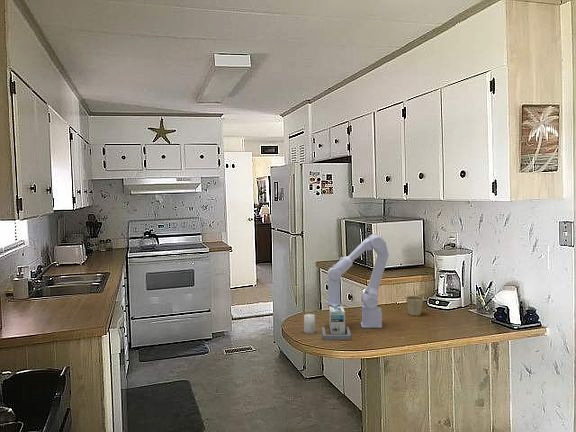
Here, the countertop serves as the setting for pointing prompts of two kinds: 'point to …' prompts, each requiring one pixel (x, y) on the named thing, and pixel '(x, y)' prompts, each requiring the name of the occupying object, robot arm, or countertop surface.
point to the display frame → (336, 337)
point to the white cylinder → (309, 323)
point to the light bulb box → (337, 320)
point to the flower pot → (414, 305)
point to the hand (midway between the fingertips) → (334, 320)
